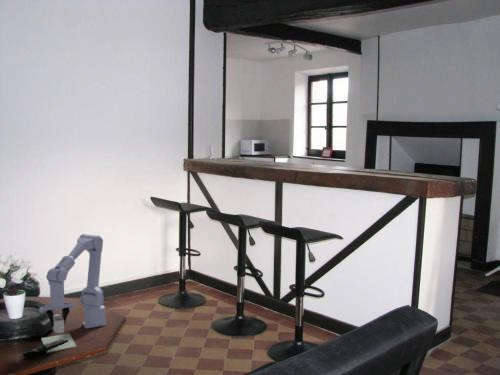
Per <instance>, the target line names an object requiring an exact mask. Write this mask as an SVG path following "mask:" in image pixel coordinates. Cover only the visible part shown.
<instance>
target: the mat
mask: <svg viewBox="0 0 500 375" xmlns="http://www.w3.org/2000/svg"><path fill="white" fill-rule="evenodd" d="M40 338H41V342H42V344H43V346H44V345H47V344H50V343H52V342H55V341H59V340H68V342H66V343H64V344H62V345H59V346H57V347H55V348H52V349H50V350H48V351H47V352H46V353H52V352H58V351H64V350H69V349H75V348H77V345H76V343H75V341H74V339H73V337H72V336H71V334H70V333H65V334H64V333H63V334H62V333H61V334H57V335H52V336H48V337H47V336H46V337H40Z"/></svg>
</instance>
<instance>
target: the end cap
mask: <svg viewBox="0 0 500 375" xmlns="http://www.w3.org/2000/svg"><path fill="white" fill-rule="evenodd" d="M31 328H36V329H31V334H32V337H37V338H43V336H44V335H46V334H48V333H49V332H50V331H52V330H53V328H52V327H51V322H50V319H49V317H48V316H41V317H39V318H38V320H34V321H32V322H31ZM34 333H35V334H34Z"/></svg>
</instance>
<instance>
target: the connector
mask: <svg viewBox="0 0 500 375" xmlns="http://www.w3.org/2000/svg"><path fill="white" fill-rule="evenodd" d="M53 323H54V327H52V328H53V329H52V330H53V332H54V333H55V334H62V333H64V332H65V325H64V319H63V317H62V314H60V313H56V314H53Z"/></svg>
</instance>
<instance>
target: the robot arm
mask: <svg viewBox="0 0 500 375" xmlns="http://www.w3.org/2000/svg"><path fill="white" fill-rule="evenodd" d="M103 243H104V239H103V238H102V236H100V235H96V234H95V235H93V234H85V233H83V234H80V235H79V237H78V238H77V240H76V244H75V245H74V248H73V249H72V250H71V251H70V253H69V254H68V255H65V256H63V257H62V259H61V260H60V261H59V262H58V263H57V264H56V265H55V266H54V267H52V268H50V269H49V270H48V271H47V274H46V280H47V281H48V285H49V296H50V298H49V299H50V304H47V305H45V306H40V307H39V313H40V314H43V313H46V315H47V317H49V319H50V322H51V327H54V323H53V315H54V312H53V311H59V310H61V312H62V313H61V315H62V317H63V319H64V326H65V325H66V320H67V318H68V315H69V313H70V309H71V308H72V309H74V308H76V303H75V302H74V301H73V302H65V281H66V280H67V277H68V274H69V271H71V269H72V268H73V267H74V265H75V264H76V261H75V260H76V259H78V257H79V256H81V254H82V253H83V252H84V251H86V252H88V254H89V260H88V271H87V282H86V286H85V287H84V288H83V289H82V291H81V292H82V293H81V296H80V298H79V299H80V304H81V306H82V307H83V308H84V309H83V310H84V313H83V314H84V321H83V322H82V325H83V327H84V328H85V329H90V328H91V329H92V328H97V327H102V326H103V327H104V326H106V324H107V323H106V307H105V305H104V300H105V299H104V291H103V290H102V289H101V288H100V286H99V284H100V273H101V262H102V261H101V260H102V252H103V247H104V246H103V245H104V244H103Z"/></svg>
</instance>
